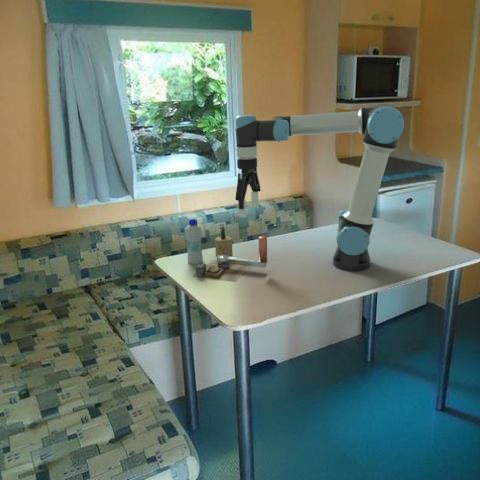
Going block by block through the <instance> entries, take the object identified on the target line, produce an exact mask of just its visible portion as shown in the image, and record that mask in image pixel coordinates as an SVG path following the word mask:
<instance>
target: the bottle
mask: <svg viewBox="0 0 480 480" xmlns="http://www.w3.org/2000/svg"><path fill="white" fill-rule="evenodd" d="M202 234H203V233H202V228H201V225H199V224H198V220H197V219H196V218H191V219H189V220H188V225H187V226H186V227H185V239H186V244H187V248H186V249H187V263H189V264H191V265H199V264H200V263H202V262H203V260H204V256H203V249H202V238H203V237H202V236H203V235H202Z"/></svg>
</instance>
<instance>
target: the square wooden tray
mask: <svg viewBox="0 0 480 480" xmlns="http://www.w3.org/2000/svg"><path fill="white" fill-rule="evenodd" d="M212 264H215V265H217V266H218V268H219V271H218V273H210V272H209V266H210V265H212ZM250 267H251V266H245V265H236V264H219V263H217V259H213V258H212V259H211V260H210V261H209V262H207V263H202V262H201V263H199V264H197V265H196V266H195V272H196V273H195V274H194V275H192V277H194V278H202V279H208V280H210V279H211V280H217V281H226V282H232V283H233V282H234V283H237V282H238V280H239V279H240V278H241V277H242V276H243V275H244V274H245V273H246V272H247V270H248V269H249V268H250Z"/></svg>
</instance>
